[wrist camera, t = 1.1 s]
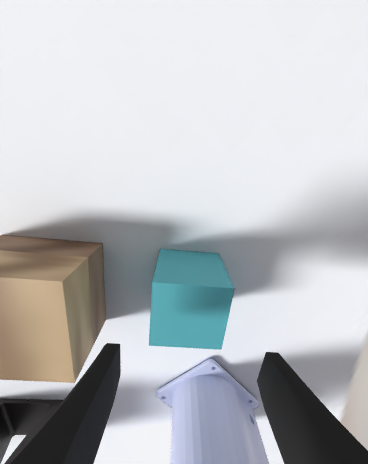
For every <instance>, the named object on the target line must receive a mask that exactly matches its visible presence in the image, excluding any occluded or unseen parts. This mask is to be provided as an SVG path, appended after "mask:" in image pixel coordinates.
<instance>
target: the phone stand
mask: <svg viewBox="0 0 368 464" xmlns="http://www.w3.org/2000/svg"><path fill="white" fill-rule="evenodd" d="M63 401H64V400H41V399H30V400H29V401H28V400H27V399H0V464H1V461H2V459H3V457H4V454H5V452H6V450H7V447H8V445H9V443H10V440H11V438H12V437H13V436H14V435H26V437H25V438H24V439H23V440H22V442H21V443H20V444H19V446H18V447H17V448H16V449H15V451H14V452H13V453H12V455H11V456H10V457H9V458H8V460H7V461H6V462H5V464H9V462H10V461H11V460H12V459H13V458H14V457H15V456H16V455H17V454H18V453H19V452H20V451H21V449H22V448H23V447H24V446H25V445H26V444H27V443H28V442H29V441H30V440H31V438H32V437H33V436H34V435H35V434H36V433H37V432H38V430H39V429H40V428H41V427H42V426H43V425H44V424H45V422H46V421H47V420H48V419H49V418H50V416H51V415H52V414H53V413H54V412H55V410H56V409H57V408H58V407H59V406H60V404H61V403H62V402H63Z"/></svg>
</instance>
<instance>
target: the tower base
mask: <svg viewBox="0 0 368 464" xmlns="http://www.w3.org/2000/svg"><path fill="white" fill-rule="evenodd" d="M0 250H3V251H15V252H28V253H41V254H53V255H66V256H79V257H88V265H89V280H90V294H91V308H92V323H93V337H94V343H95V341H96V339H97V337H98V335H99V333H100V331H101V329H102V327H103V325H104V322H105V320H106V313H105V289H104V265H103V243H94V242H81V241H69V240H57V239H45V238H33V237H21V236H9V235H1V236H0Z"/></svg>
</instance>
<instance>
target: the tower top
mask: <svg viewBox="0 0 368 464" xmlns="http://www.w3.org/2000/svg"><path fill="white" fill-rule="evenodd" d="M93 345H94V337H93V323H92V308H91V294H90V280H89V265H88V257H79V256H66V255H53V254H41V253H28V252H15V251H3V250H0V379H2V380H24V381H47V382H69V383H75V381H76V379H77V377H78V375H79V373H80V371H81V369H82V367H83V365H84V363H85V361H86V359H87V357H88V355H89V353H90V351H91V349H92V347H93Z"/></svg>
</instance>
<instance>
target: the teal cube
mask: <svg viewBox="0 0 368 464" xmlns="http://www.w3.org/2000/svg"><path fill="white" fill-rule="evenodd" d="M234 289H235V288H234V286H233V284H232V282H231V279H230V277H229V275H228V273H227V271H226V268H225V266H224V264H223V262H222V260H221V258H220V255H219V254H217V253H205V252H192V251H180V250H168V249H160V253H159V257H158V261H157V265H156V269H155V273H154V277H153V281H152V296H151V315H150V334H149V345H151V346H168V347H186V348H204V349H222V344H223V339H224V335H225V330H226V326H227V321H228V316H229V312H230V307H231V302H232V298H233V293H234Z"/></svg>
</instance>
